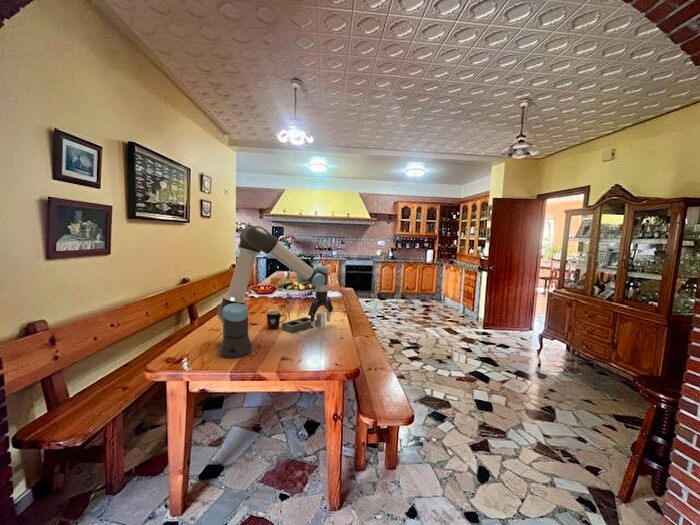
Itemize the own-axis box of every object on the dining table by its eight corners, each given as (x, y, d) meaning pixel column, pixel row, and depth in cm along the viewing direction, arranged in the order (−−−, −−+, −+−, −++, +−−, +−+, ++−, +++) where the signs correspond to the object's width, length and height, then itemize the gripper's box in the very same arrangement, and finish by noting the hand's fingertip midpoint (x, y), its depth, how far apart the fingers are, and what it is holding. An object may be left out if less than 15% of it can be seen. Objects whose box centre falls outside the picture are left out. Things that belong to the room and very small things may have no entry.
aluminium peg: (320, 330, 182) (321, 314, 181) (316, 328, 185) (316, 313, 184) (325, 328, 185) (325, 313, 184) (320, 327, 188) (320, 312, 187)
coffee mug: (263, 329, 181) (263, 313, 180) (271, 325, 189) (271, 310, 188) (280, 331, 178) (280, 315, 177) (287, 327, 186) (287, 312, 185)
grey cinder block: (292, 333, 175) (292, 326, 174) (281, 329, 181) (281, 322, 181) (316, 326, 190) (316, 319, 190) (305, 322, 197) (305, 316, 196)
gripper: (311, 294, 171) (310, 329, 173) (339, 288, 190) (338, 320, 192) (302, 292, 175) (302, 326, 177) (330, 287, 195) (330, 318, 197)
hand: (321, 323), depth 185 cm, fingers open, 13 cm apart
